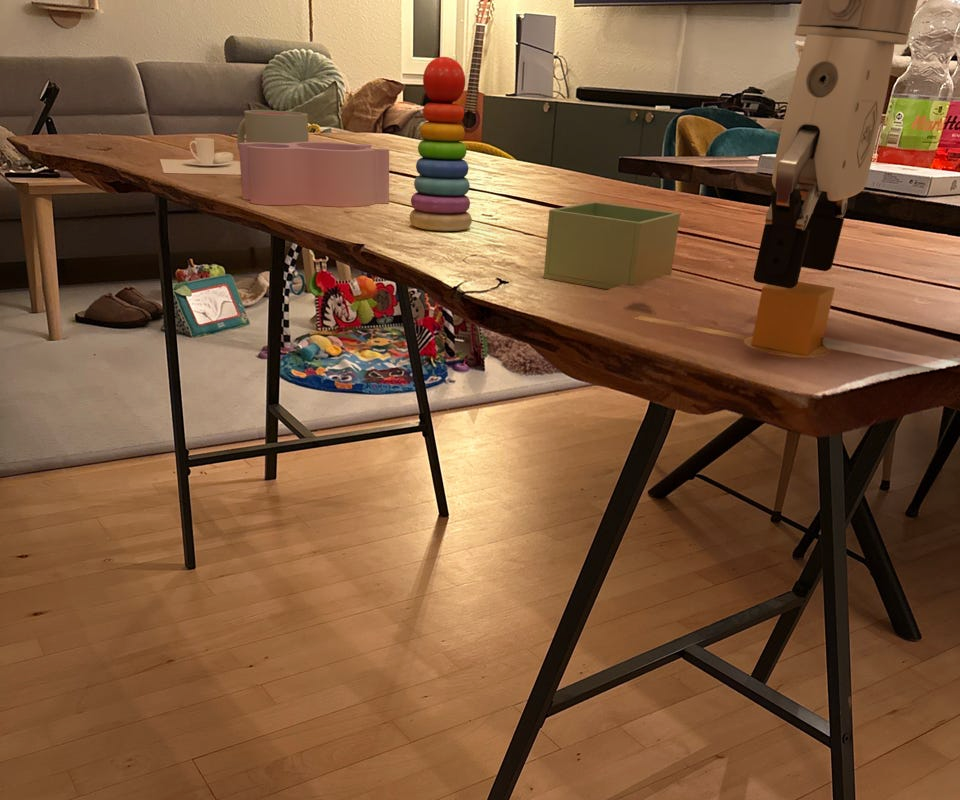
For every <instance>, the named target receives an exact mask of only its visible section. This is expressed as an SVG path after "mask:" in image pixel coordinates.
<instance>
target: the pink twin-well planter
mask: <svg viewBox="0 0 960 800" xmlns="http://www.w3.org/2000/svg"><path fill="white" fill-rule="evenodd" d="M238 153H239V161H240V169H241V175H240V182H241V183H240V184H241V196H242V200H245V201H247V200H248V201H249V202H250V204H253V205H262V206H292V205H297V206H298V205H309V206H319V207H336V208H337V207H338V208H339V207H340V208H342V207H343V208H344V207H345V208H346V207H347V208H350V207H355V208H356V207H367V206H372V205H375V204H383V205H388V204H390V149H387V148H375V147H372V144H370V143H369V144H368V143H362V144H361V143H360V144H359V143H358V144H357V143H346V142H330V141H329V142H328V141H309V142H293V143H263V142H249V143H246V142H245V143H239V149H238Z"/></svg>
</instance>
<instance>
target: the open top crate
mask: <svg viewBox="0 0 960 800" xmlns="http://www.w3.org/2000/svg"><path fill="white" fill-rule="evenodd" d="M680 218H681V213H679V212H674V211H673V212H672V211H667V210H657V209H651V208H642V207H636V206H628V205H622V204H613V203H607V202H599V201H590V202H586V203H579V204H573V205H569V206H562V207H558V208H553V209H549V210H548V220H547V221H548V222H547V233H546V245H545V258H544V267H543V268H544V269H543V278H544V279H547V280H552V281H558V282H564V283H569V284H575V285H581V286H585V287H591V288H597V289H602V290H612V289H614V288H617V287H620V286H630V287H635V286H637V285H640V284H643V283H645V282H648V281H651V280H655V279H657V278H659V277H662V276H670V277H671V276H672V272H673V266H674V257H675V252H676V245H677V238H678V231H679V225H680Z"/></svg>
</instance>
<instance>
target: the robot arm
mask: <svg viewBox="0 0 960 800" xmlns="http://www.w3.org/2000/svg"><path fill="white" fill-rule="evenodd" d="M918 1H919V0H801V3H800V8H799V14H798V17H797V21H796V22H797V23H796V25H797V26H796V27H795V31H794V36H798V37H804V38H805V40H804V42H803V43H804V44H803V47H802V50H801V53H800V57H799V61H798V65H797V66H796V72H795V74H794V75H795V76H794V79H793V82H792V86H791V90H790V94H789V98H788V102H787V106H786V110H785V113H784V118H783V122H782V126H781V131H780V135H779V138H778V139H779V140H778V142H777V143H778V144H777V148H776V153H775V159H774V163H773V170H772V176H771V183H772V186H773V188H774V189H773V190H772V191H771V193H770V198H769V201H771V202H770V205H769V207H768V210H767V212H766V216H765V221H764V222H765V223H764V228H763V231H762V235H761V239H760V245H759V250H758V253H757V259H756V262H755V268H754V271H753V272H754V273H753V281H754V282H756V283H760V284H764V285H768V284H769V285H774V286H780V287H785V288H793V287H795V286H796V285H797V283H798V282H799V279H800V275H801V270H802V268H805V269H811V270H817V271H822V272H828V271H830V270H831V269H832V267H833V264H834V260H835V257H836V253H837V248H838V245H839V241H840V237H841V233H842V229H843V226H844V221H845V218H844V216H845V215H846V212H847V208H848V200H849V198H851V197H854V196H856V195H858V194H860V193H861V192H862V191H864V189H865V188H866V185H867V182H868V179H869V174H870V169H871V166H872V162H873V157H874V154H875V153H874V152H875V147H876V144H877V140H878V139H877V138H878V134H879V130H880V125H881V121H882V116H883V112H884V108H885V103H886V99H887V93H888V88H889V84H890V78H891V72H892V67H893V61H894V52H895V45H899V46H900V45H901V46H904V45H905V46H906V45H907V44H908V40H909V34H910V31H911V28H912V24H913V19H914V16H915V12H916V9H917V5H918ZM802 201H803V203H802Z"/></svg>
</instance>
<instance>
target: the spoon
mask: <svg viewBox="0 0 960 800" xmlns="http://www.w3.org/2000/svg"><path fill="white" fill-rule="evenodd" d="M633 319H634V320H638V321H644V322H650V323H654V324H659V325H664V326H670V327H674V328H680V329H684V330H685V329H686V330H691V331H696V332H701V333H705V334H711V335H716V336H722V337H727V338H732V339H738V340H743V343H744V344H745V345H746V346H748V347H749V348H751V349H752V350H753V349H754V350H756V351H759V352H763V353H767V354H771V355H775V356H782V357H791V358H820V357H824V356H827V355H828V354H829V353H830V352H831V351H830V348H829V347H827V346H826V345H824V344H823V343H822V344H821V345H820V346H819V347H817V348H816V349H814V350H813V351H812V352H810V353H809V354H808V355H806V356H805V355H800V354H795V353H789V352H784V351H779V350H774V349H769V348H763V347H758V346H753V345H751V342H752V337H753V335H745V334H740V333H735V332H730V331H724V330H718V329H714V328H708V327H703V326H697V325H692V324H686V323H682V322H676V321H671V320H666V319H660V318H656V317H650V316H646V315H638V316H636V317H634V318H633Z"/></svg>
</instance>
